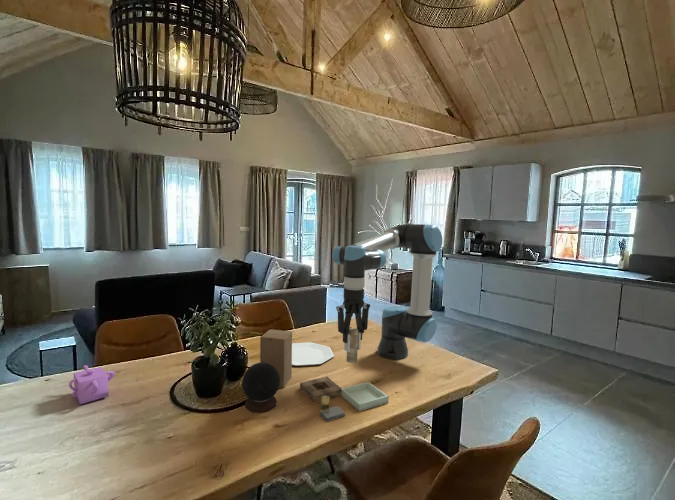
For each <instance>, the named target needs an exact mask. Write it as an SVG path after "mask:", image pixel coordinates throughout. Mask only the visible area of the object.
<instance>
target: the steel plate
mask: <svg viewBox="0 0 675 500" xmlns="http://www.w3.org/2000/svg"><path fill="white" fill-rule="evenodd" d="M345 413H346V412H345V411H343V410H342V409H341V408H340V407H339V406H338V405H335V406H331V407H329V408H328V409H325V410H322V409H321V410H319V415H320V416H321V418H323V419H324V420H325V421H326V422H330V421H333V420H336V419H340V418H344V417H345V416H346V415H345Z"/></svg>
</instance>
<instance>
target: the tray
mask: <svg viewBox="0 0 675 500" xmlns="http://www.w3.org/2000/svg"><path fill="white" fill-rule="evenodd" d="M341 388H342V387H341ZM340 397H342V398H344V399H345V400H346V401H347V402H348V403H349V404H350V405H351V406H353V408H355V409H356V410H357V411H359V412H362V411H365V410H368V409H372V408H375V407H378V406H382V405H385V404H388V403H389V397H390V396H389V395H388V394H387V393H385V392H383V391H382V390H381V389H379V388H378V387H377V386H375V385H374V384H372V383H371V382H370V381H366V382H362V383H361V382H360V383H358V384H354V385H350V386H347V387H346V386H345V387H343V388H342V389H341V396H340Z"/></svg>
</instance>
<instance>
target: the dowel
mask: <svg viewBox="0 0 675 500" xmlns="http://www.w3.org/2000/svg"><path fill="white" fill-rule="evenodd" d="M348 334H350V352H347V351H346V362H347V363H350V364H355V363H357V362H358V351H359V350H358V329H357V327H356V328H355V327H350V328H349V333H348Z"/></svg>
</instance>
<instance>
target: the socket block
mask: <svg viewBox="0 0 675 500" xmlns="http://www.w3.org/2000/svg"><path fill="white" fill-rule="evenodd" d="M299 389H300V391H301V392H302V393H304V395H305V396H306V397H307V398H308V399H309V400H310V401H311V402H312V403H313V404H315V403H319V402H321V397H322V396H324V395H327V396H329V397H330V399H333V398H338V397H342V396H341V389H342V387H340V385H338V384H337V383H336V382H334V381H333V380H332V379H331V378H330V377H329V376H323V377H319V378H315V379H309V380H305V381H302V382H300V383H299Z"/></svg>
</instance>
